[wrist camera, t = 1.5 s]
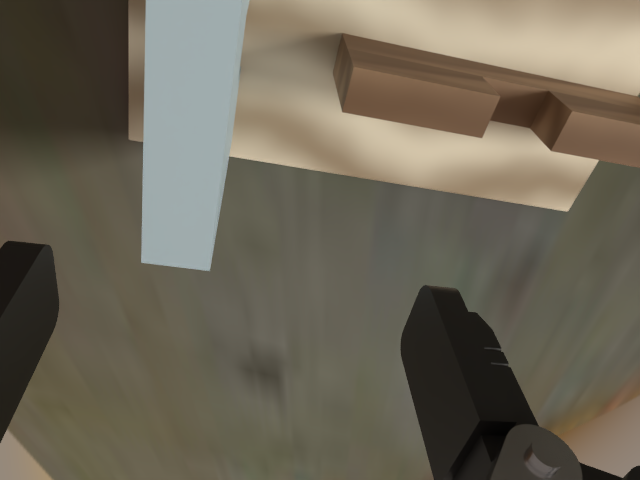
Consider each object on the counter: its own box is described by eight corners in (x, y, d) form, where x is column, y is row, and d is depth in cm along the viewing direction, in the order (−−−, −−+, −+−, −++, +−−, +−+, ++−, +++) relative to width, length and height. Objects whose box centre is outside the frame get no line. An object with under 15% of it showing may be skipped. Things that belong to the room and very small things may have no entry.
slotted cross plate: (202, -125, 25) (147, -111, 15) (263, -109, 26) (251, -84, 15) (184, 135, 33) (141, 262, 23) (231, 142, 34) (209, 270, 23)
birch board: (133, -169, 25) (128, -170, 24) (693, -19, 30) (704, -16, 29) (132, 133, 34) (128, 139, 33) (562, 204, 39) (567, 211, 39)
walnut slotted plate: (342, 32, 30) (353, 66, 25) (637, 96, 33) (697, 136, 29) (332, 72, 31) (342, 112, 26) (617, 129, 35) (670, 173, 30)
